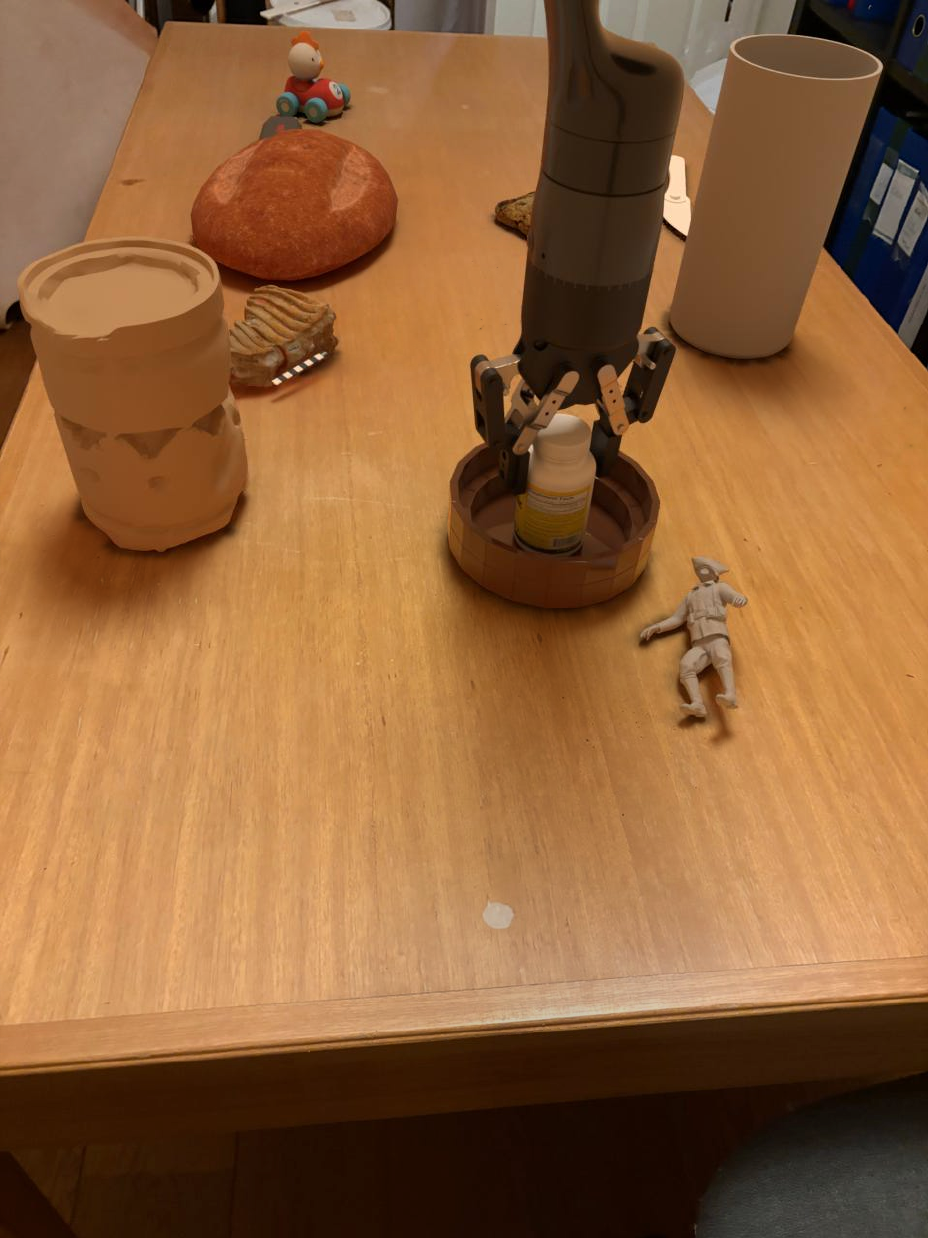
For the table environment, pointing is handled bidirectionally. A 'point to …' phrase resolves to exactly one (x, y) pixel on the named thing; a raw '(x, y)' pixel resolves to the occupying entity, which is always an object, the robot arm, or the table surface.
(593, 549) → the bowl
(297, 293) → the fossil
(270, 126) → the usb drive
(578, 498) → the supplement bottle
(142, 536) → the container
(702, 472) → the table surface
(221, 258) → the bread
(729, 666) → the soldier figure
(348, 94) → the toy car
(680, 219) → the knife
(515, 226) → the pastry
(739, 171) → the cylinder vase
